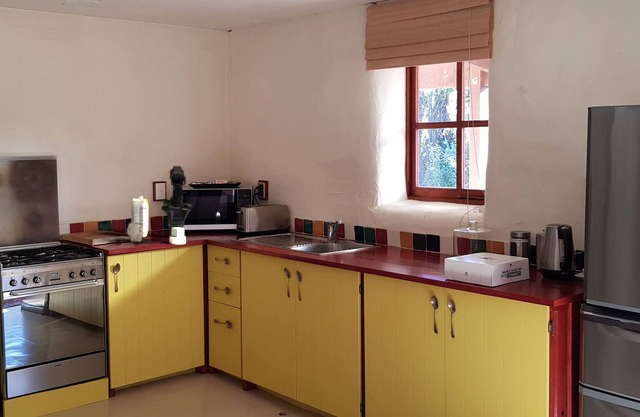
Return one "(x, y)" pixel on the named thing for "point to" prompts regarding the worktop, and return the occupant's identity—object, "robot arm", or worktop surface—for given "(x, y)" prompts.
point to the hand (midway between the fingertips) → (176, 222)
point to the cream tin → (177, 240)
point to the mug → (135, 231)
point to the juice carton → (140, 213)
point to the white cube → (177, 232)
